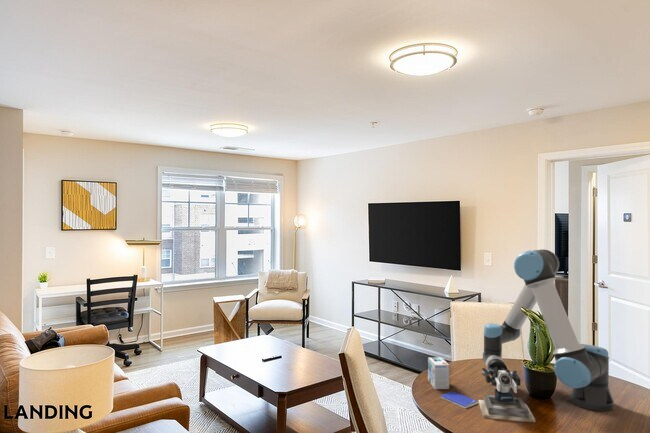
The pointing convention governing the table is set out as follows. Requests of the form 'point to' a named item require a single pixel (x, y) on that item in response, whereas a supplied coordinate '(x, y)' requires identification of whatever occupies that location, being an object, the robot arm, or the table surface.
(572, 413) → the table surface
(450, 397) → the hard drive
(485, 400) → the fitting base
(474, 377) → the table surface
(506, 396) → the watch
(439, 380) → the light bulb box
